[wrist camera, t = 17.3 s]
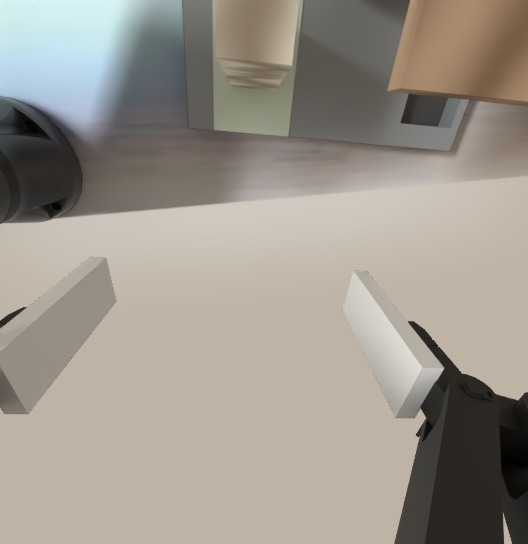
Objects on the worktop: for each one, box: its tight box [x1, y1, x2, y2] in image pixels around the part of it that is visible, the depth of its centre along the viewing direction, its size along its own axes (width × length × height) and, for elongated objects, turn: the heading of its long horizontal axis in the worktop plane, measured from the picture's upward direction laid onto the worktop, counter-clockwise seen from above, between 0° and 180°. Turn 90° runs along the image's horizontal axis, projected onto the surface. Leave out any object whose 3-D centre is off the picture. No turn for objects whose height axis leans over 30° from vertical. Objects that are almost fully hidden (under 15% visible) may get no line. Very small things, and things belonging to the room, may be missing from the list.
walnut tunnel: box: [387, 0, 528, 106], centre depth 19 cm, size 10×12×20 cm
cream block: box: [216, 0, 299, 91], centre depth 22 cm, size 5×6×14 cm
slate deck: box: [182, 0, 469, 151], centre depth 30 cm, size 33×15×3 cm, turn 86°
